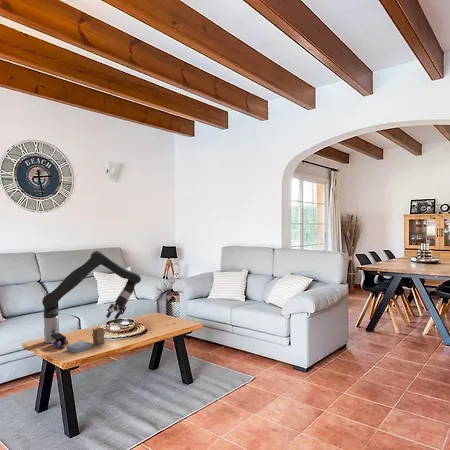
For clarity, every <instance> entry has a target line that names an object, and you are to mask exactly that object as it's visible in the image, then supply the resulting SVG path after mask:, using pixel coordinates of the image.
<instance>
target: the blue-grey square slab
mask: <svg viewBox="0 0 450 450" xmlns="http://www.w3.org/2000/svg"><path fill="white" fill-rule="evenodd" d="M92 343H93V342H88V341H83V340H78V341H76V342H72V343H70V344H67V345H65V348H66V349H65V350H66V351H68V352H72V353H75V354H79V353H82V352H84V351H87V350H90V349H92V348H93V344H92Z"/></svg>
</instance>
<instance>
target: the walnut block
mask: <svg viewBox="0 0 450 450" xmlns="http://www.w3.org/2000/svg"><path fill="white" fill-rule="evenodd" d="M92 343H93V344H92V345H96V346H100V345H103V344H105V329H104V328H103V327H95V328H94V329H92Z"/></svg>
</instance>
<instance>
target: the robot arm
mask: <svg viewBox="0 0 450 450" xmlns="http://www.w3.org/2000/svg"><path fill="white" fill-rule="evenodd" d="M99 266H103V267H105V268H107V269H108V270H109V271H111V272H113V273H114V274H115V275H116V276H117V277H120V278H121V279H124V280H125V279H126V280H127V281H126V283H125V286H123V289H122V290H121V292H120V293H119V295H118V296H117V298H116V300H115V303H111V304H110V305H109V307H108V308H107V310H106V311H107V314H106V315H105V318H107V319H109V318H110V317H111V315H112V314H113V313H114V312H117V313H116V314H115V316H114V320H118V319H119V317H120V316H121V315H124V313H125V311H126V310H127V306H126V305H127V303H128V301H129V300H130V298H131V296H132V294H133V292H134V290H135V287H136V285H137V284H140V282H141V281H142V277H141V275H140V274H138V273H136V272H134V271H132V270H129V269H128V268H125V267H124V266H122V265H120V264H119V263H117V262H115V261H113V260H111V259H110V258H109V257H108V256H106V255H105V254H104V253H103V252H102V251H100V250H94V251H93V252H92V253H91V254H90V257H89V259H88V260H86V261H85V263H83V264H82V265H81V266H79V267H77V268H75V269H74V270H73V271H72V272H70V273H69V274H68V275H66V277H65V278H64V279H63V280H62V281H61V282H60V284H59V285H58V286H57V287H56V288H55V289H53V290H52V291H50V292H48V293H46V294H45V295H44V297H43V298H42V300H41V301H42V303H41V304H42V306H43V326H44V327H43V338H44V343H46V344H52V339H53V337H51V336H50V335H51V334H56V333H60V320H59V317H60V316H59V313H60V312H59V301H61V299H62V298H63V297H64V296H66V294H68V293H69V292H71V291H72V290H73V289H75V288H76V287H77V286H79V284H80V283H81V282H83V280H84V279H86V278H87V277H88V275H90V274H91V272H93V270H95V269H96V268H98V267H99Z"/></svg>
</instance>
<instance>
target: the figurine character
mask: <svg viewBox="0 0 450 450" xmlns="http://www.w3.org/2000/svg"><path fill="white" fill-rule="evenodd" d="M50 336H51V337H53V339H52V343H51V344H52V345H53V346H55V347H57V348H58V349H59V350H61V348H62V347H63V348H66V346H67V345H69V339H67V336H65V335H63V334H62V333H60V332H59V333H56V334H51V335H50Z"/></svg>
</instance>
